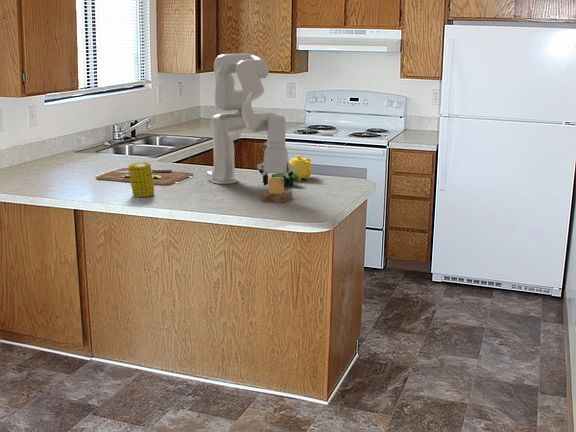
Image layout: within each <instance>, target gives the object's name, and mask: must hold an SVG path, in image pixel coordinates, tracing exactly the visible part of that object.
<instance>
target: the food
mask: <svg viewBox="0 0 576 432" xmlns="http://www.w3.org/2000/svg"><path fill="white" fill-rule="evenodd" d="M128 168H129V173H130V181H131V183H130V186H131V189H132V190H131V192H132V195H133V196H134V197H137V198H143V197H144V198H145V197H153V196H155V185H154V183H153V178H152V171H151V170H152V167H151V164H150V163H149V162H147V161H141V162H133V163H131V164H129V165H128Z"/></svg>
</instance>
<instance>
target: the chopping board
mask: <svg viewBox="0 0 576 432" xmlns="http://www.w3.org/2000/svg"><path fill="white" fill-rule="evenodd" d="M151 171H152V178H153V183H154V186H163V187H166V186H167V187H168V186H172V185H174V184H177V185H179V184H181V183H184V182H187V181H189V180H191V179H194V178H195V176H194V174H193V172H185V171H182V172H181V171H173V170H172V169H151ZM94 177H95V179H96V180H98V181H108V182H119V183H129V184H131V181H130V173H129V167H122V168H119V169H112V170H108V171H106V172H104V173H100V174H97V175H95V176H94Z"/></svg>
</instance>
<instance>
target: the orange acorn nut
mask: <svg viewBox="0 0 576 432" xmlns="http://www.w3.org/2000/svg"><path fill="white" fill-rule="evenodd" d="M268 190H269V193H271V194H282V193H284V190H285V186H284V178H282V177H272V176H271V177H268Z"/></svg>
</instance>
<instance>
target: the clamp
mask: <svg viewBox="0 0 576 432" xmlns="http://www.w3.org/2000/svg"><path fill="white" fill-rule="evenodd" d="M289 173H290V172H289ZM271 177H282V178H284V185H285V178H286V176H285V175H284V173H283V174H278V173H271ZM298 177H299V176H298V175H296V174H295V173H294V174H293V175H292V176H291V177H290V185H289V187H292V188H293V187H294V183H295V181H297V180H298Z"/></svg>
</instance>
